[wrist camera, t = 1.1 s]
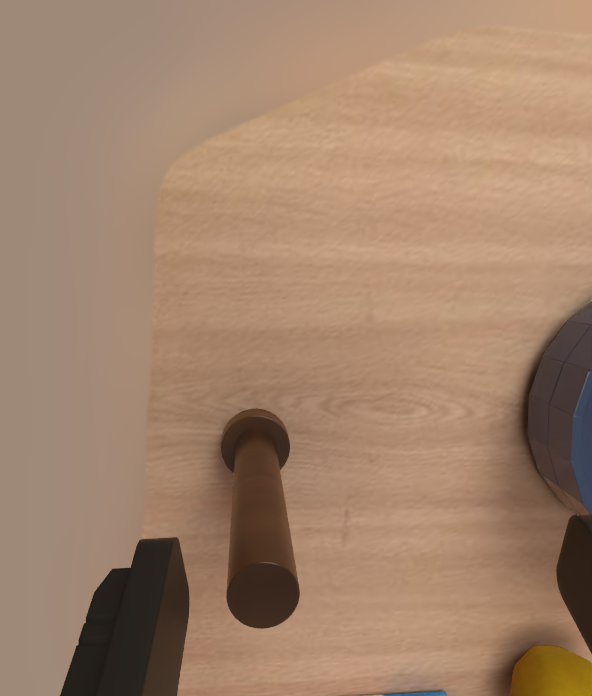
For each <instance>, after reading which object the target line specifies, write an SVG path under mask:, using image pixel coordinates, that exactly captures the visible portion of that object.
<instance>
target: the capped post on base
mask: <svg viewBox="0 0 592 696" xmlns="http://www.w3.org/2000/svg"><path fill="white" fill-rule="evenodd" d="M221 451H222V457H223V460H224V462H225V464H226V465H227V467H228V468H229V469H230V470H231V471H232V472H233V473H234V476H233V494H232V511H231V528H230V545H229V562H228V580H227V603H228V607H229V609H230V611H231V613H232V614H233V615H234V617H235V618H236V619H237V620H239V621H240V622H241V623H243V624H245V625H247V626H249V627H253V628H270V627H274V626H276V625H279V624H281V623H282V622H284V621H285V620H286V619H288V618H289V617H290V616H291V614H292V613H293V612H294V610H295V608H296V607H297V604H298V601H299V595H300V590H299V584H298V578H297V572H296V565H295V559H294V553H293V547H292V541H291V534H290V528H289V522H288V516H287V510H286V504H285V497H284V491H283V485H282V479H281V473H280V470H281V469H282V467H283V466H284V465H285V463H286V461H287V459H288V456H289V451H290V443H289V438H288V434H287V431H286V428H285V426H284V424H283V423H282V421H281V420H280V419H279V418H278V417H277V416H276V415H274V414H273V413H271V412H269V411H266V410H262V409H250V410H246V411H243V412H241V413H239V414H237V415H236V416H234V417H233V418H232V419H231V420H230V421H229V423H228V424H227V426H226V428H225V430H224V433H223V438H222V446H221Z"/></svg>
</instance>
